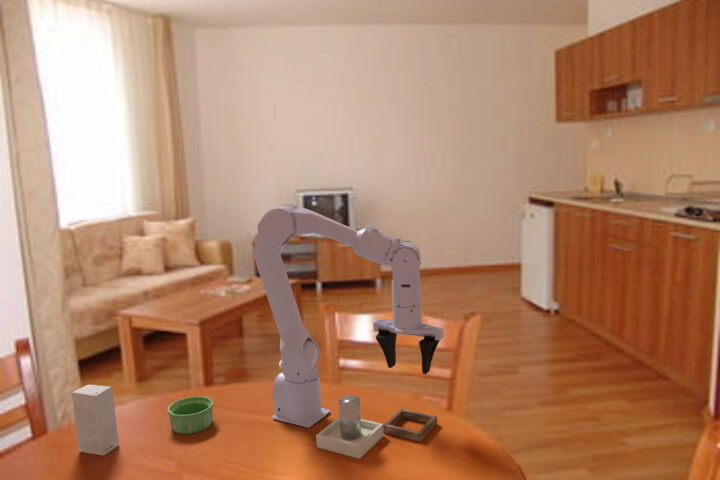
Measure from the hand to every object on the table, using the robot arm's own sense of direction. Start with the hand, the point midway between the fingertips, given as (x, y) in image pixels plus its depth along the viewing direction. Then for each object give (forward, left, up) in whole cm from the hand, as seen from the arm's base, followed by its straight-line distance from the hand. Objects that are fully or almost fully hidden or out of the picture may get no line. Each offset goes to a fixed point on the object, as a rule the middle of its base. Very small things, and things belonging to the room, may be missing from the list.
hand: (408, 369), depth 114 cm
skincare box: (-48, -37, -11) cm, 62 cm away
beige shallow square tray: (-6, -14, -10) cm, 18 cm away
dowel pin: (-6, -13, -9) cm, 17 cm away
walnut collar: (+2, -4, -10) cm, 11 cm away
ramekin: (-39, -22, -11) cm, 46 cm away
